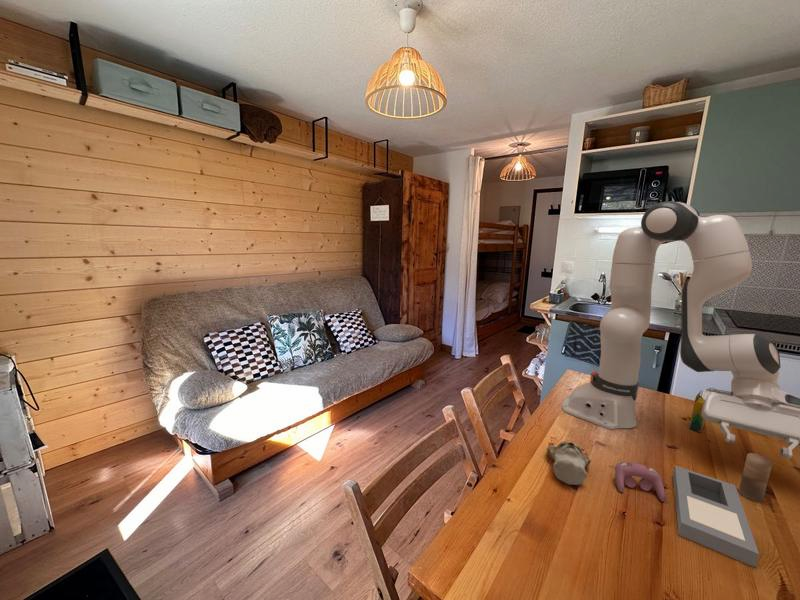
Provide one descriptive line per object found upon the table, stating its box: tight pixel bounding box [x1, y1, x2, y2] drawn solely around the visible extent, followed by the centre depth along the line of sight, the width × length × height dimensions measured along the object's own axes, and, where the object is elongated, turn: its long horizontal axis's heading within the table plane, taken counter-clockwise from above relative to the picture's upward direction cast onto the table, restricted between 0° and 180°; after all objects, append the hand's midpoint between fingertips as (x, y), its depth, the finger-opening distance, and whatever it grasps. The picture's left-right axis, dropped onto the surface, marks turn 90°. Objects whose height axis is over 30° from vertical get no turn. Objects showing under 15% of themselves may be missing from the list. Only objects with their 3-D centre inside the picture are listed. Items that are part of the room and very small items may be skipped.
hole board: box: [672, 465, 760, 568], centre depth 72 cm, size 11×22×3 cm, turn 143°
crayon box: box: [688, 390, 706, 433], centre depth 106 cm, size 7×3×12 cm, turn 129°
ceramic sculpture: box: [546, 441, 592, 486], centre depth 85 cm, size 11×9×15 cm
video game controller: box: [614, 461, 666, 503], centre depth 79 cm, size 10×5×7 cm, turn 71°
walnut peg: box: [738, 452, 773, 503], centre depth 77 cm, size 4×4×10 cm
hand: (757, 449), depth 80 cm, fingers open, 8 cm apart
